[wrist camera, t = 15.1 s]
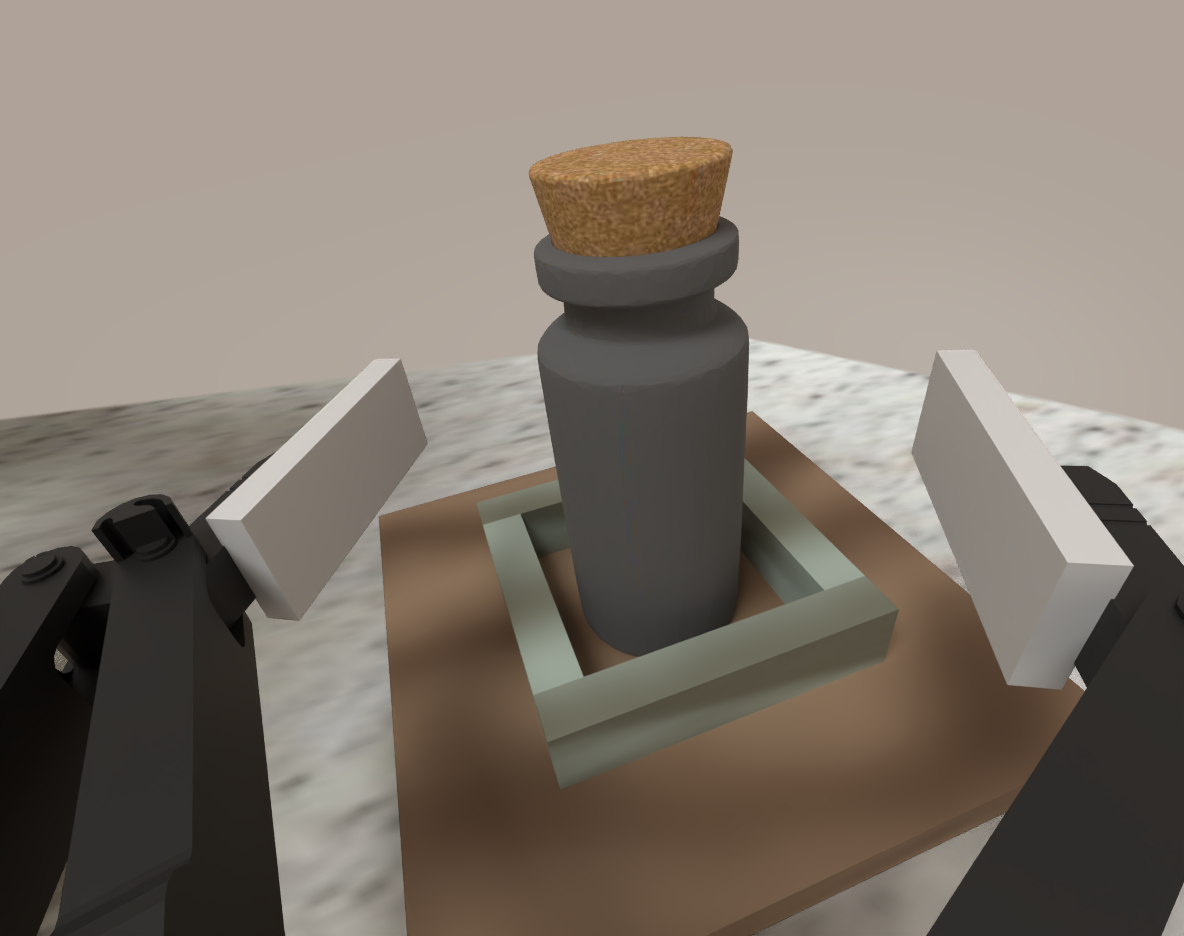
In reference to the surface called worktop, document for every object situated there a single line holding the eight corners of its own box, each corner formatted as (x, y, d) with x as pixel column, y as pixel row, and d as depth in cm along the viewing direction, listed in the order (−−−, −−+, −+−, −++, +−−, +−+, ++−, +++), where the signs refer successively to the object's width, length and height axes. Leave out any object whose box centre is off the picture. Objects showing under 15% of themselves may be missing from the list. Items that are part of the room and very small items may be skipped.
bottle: (691, 690, 19) (679, 185, 10) (549, 618, 22) (450, 180, 14) (763, 574, 23) (799, 127, 14) (633, 525, 26) (597, 134, 17)
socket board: (388, 539, 29) (361, 473, 27) (751, 434, 33) (754, 369, 31) (434, 1088, 13) (379, 1042, 11) (1112, 760, 18) (1175, 678, 15)
